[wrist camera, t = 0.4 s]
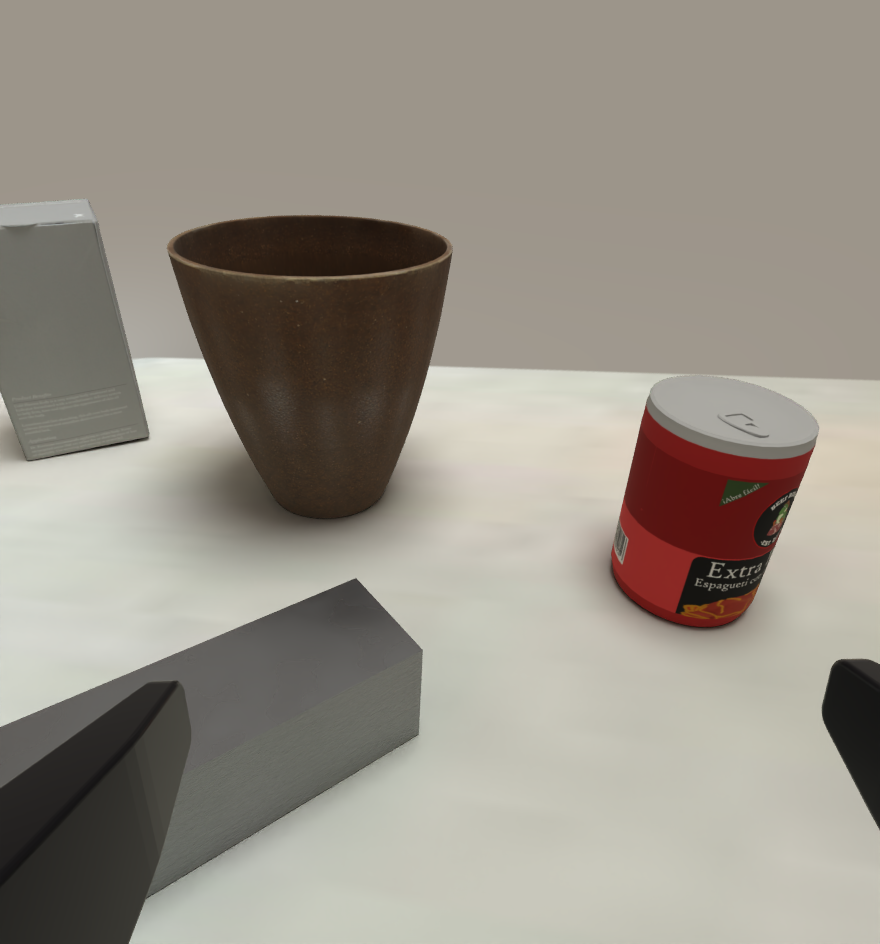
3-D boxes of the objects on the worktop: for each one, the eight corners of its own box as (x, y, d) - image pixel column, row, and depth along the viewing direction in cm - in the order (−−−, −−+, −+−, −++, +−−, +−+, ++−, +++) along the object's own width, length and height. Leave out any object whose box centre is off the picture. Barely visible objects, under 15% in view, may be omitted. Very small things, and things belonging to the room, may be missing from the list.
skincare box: (141, 405, 52) (96, 195, 44) (152, 445, 47) (104, 214, 39) (19, 424, 49) (-54, 198, 40) (17, 469, 43) (-67, 220, 35)
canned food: (693, 653, 32) (761, 462, 26) (578, 564, 38) (614, 390, 32) (779, 598, 36) (855, 421, 30) (664, 525, 41) (709, 363, 36)
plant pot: (305, 596, 34) (282, 296, 26) (165, 485, 43) (113, 231, 34) (484, 491, 44) (508, 247, 36) (341, 417, 52) (333, 206, 44)
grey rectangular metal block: (358, 659, 31) (356, 578, 28) (418, 734, 27) (422, 650, 25) (20, 826, 23) (-25, 737, 21) (46, 957, 20) (-3, 871, 17)
